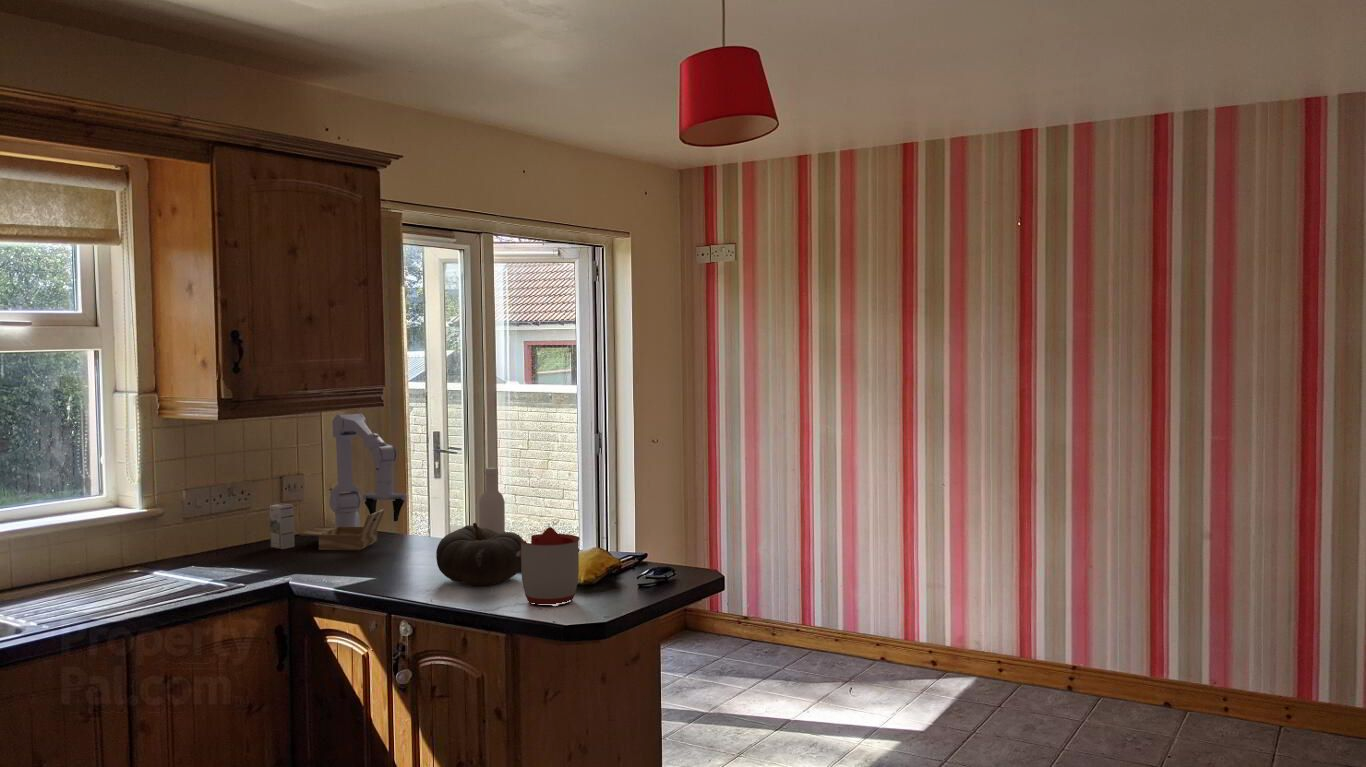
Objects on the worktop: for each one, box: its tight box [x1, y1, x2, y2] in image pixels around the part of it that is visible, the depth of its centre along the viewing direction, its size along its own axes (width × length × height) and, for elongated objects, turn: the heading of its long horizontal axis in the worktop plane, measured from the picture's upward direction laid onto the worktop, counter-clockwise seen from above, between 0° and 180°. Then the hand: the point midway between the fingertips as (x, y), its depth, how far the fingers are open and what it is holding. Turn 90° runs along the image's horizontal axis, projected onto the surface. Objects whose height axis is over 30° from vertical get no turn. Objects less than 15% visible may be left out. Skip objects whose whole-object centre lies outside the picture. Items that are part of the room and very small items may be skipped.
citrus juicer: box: [516, 526, 580, 604], centre depth 275 cm, size 16×17×20 cm
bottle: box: [478, 467, 506, 533], centre depth 323 cm, size 8×8×30 cm
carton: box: [299, 526, 378, 551], centre depth 354 cm, size 16×21×5 cm
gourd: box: [435, 522, 524, 586], centre depth 301 cm, size 25×25×17 cm
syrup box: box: [269, 503, 295, 550], centre depth 351 cm, size 6×6×14 cm
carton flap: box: [360, 508, 386, 535], centre depth 353 cm, size 14×7×1 cm
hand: (384, 520), depth 353 cm, fingers open, 7 cm apart
